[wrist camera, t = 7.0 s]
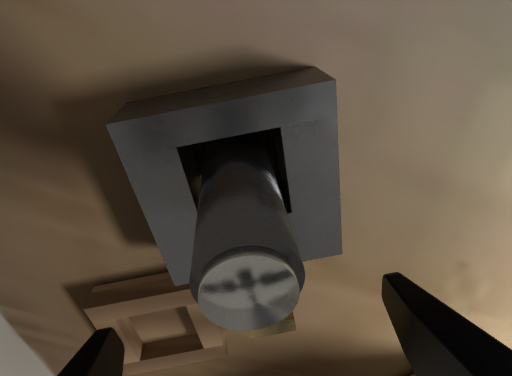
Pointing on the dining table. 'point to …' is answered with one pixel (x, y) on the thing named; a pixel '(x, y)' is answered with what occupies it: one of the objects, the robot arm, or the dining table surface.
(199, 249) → the grey peg
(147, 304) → the brown square frame
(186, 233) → the socket block
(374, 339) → the dining table surface
